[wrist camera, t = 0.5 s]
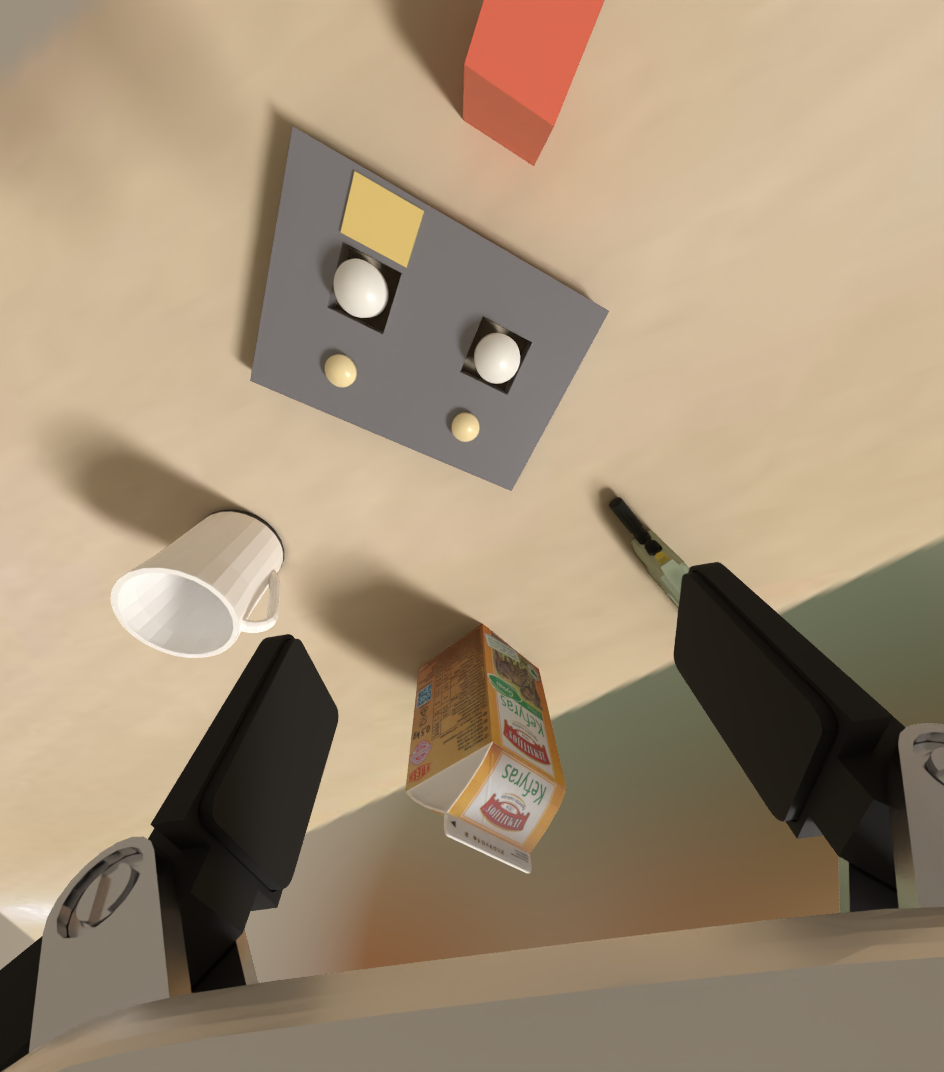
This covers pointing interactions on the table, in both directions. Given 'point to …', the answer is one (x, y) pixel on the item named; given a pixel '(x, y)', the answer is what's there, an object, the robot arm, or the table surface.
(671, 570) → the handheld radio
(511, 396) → the panel
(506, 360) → the white egg
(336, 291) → the cream egg in tray
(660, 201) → the table surface
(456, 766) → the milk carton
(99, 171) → the table surface
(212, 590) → the mug
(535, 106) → the cap
